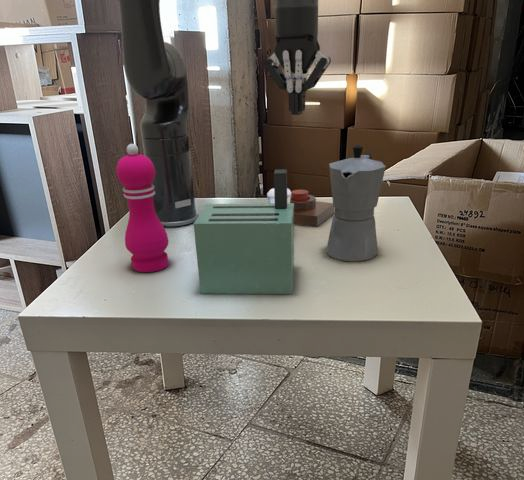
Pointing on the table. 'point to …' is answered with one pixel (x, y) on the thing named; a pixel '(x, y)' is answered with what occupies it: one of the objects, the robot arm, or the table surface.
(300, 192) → the button
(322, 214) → the block
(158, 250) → the pepper mill
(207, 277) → the toaster
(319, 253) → the table surface
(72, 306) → the table surface
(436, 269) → the table surface
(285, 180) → the dark grey upright bar
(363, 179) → the coffeepot
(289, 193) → the milkshake
